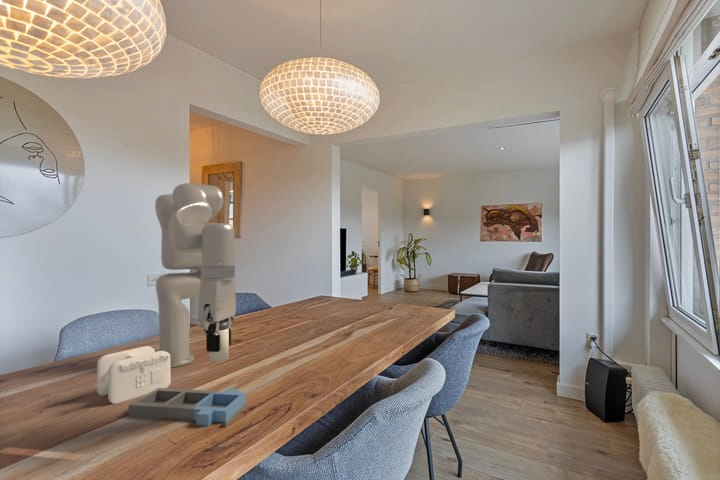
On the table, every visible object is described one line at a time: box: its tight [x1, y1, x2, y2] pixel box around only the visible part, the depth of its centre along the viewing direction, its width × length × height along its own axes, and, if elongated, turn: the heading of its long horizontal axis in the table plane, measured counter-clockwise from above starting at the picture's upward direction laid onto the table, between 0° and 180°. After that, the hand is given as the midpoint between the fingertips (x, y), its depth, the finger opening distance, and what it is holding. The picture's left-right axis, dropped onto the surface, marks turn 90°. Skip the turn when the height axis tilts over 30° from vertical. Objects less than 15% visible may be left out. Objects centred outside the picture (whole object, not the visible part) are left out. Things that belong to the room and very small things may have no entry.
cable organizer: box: [96, 345, 171, 405], centre depth 99 cm, size 15×11×12 cm
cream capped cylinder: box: [209, 320, 230, 363], centre depth 87 cm, size 4×4×9 cm
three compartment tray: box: [128, 387, 247, 427], centre depth 88 cm, size 25×14×4 cm, turn 81°
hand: (219, 347), depth 87 cm, fingers closed on cream capped cylinder, 4 cm apart
